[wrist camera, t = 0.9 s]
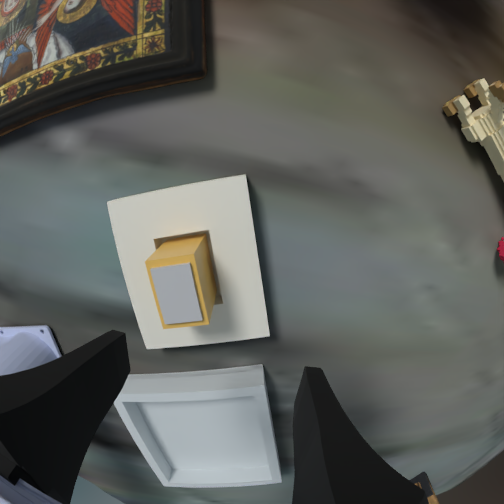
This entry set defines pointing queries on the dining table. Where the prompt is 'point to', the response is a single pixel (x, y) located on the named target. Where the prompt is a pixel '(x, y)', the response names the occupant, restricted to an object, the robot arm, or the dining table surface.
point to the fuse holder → (221, 252)
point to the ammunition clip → (425, 487)
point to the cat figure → (483, 123)
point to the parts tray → (203, 426)
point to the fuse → (183, 281)
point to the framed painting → (93, 52)
